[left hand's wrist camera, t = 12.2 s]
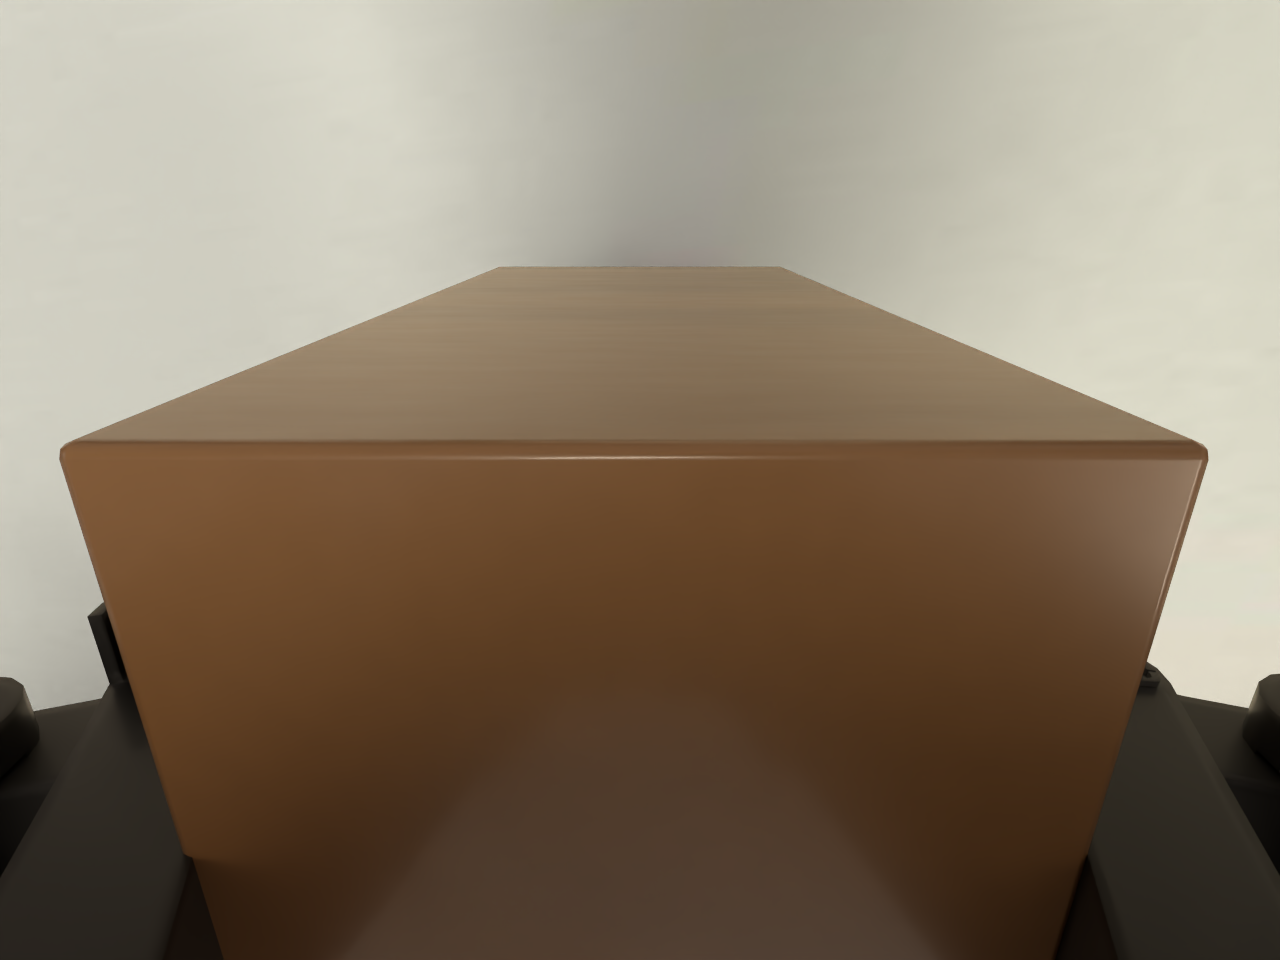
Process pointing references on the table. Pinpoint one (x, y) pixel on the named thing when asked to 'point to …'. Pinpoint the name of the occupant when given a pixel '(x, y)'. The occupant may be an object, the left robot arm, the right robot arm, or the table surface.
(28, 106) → the table surface
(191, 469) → the box
